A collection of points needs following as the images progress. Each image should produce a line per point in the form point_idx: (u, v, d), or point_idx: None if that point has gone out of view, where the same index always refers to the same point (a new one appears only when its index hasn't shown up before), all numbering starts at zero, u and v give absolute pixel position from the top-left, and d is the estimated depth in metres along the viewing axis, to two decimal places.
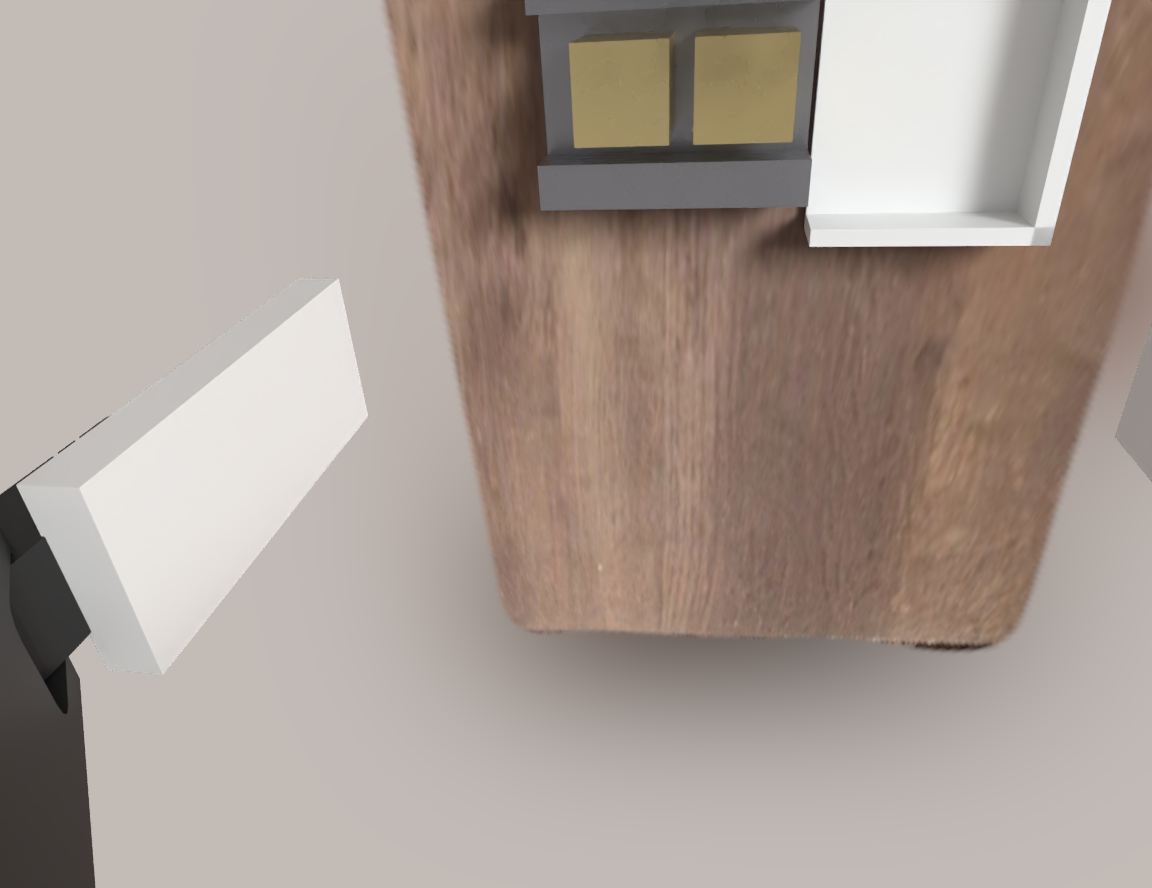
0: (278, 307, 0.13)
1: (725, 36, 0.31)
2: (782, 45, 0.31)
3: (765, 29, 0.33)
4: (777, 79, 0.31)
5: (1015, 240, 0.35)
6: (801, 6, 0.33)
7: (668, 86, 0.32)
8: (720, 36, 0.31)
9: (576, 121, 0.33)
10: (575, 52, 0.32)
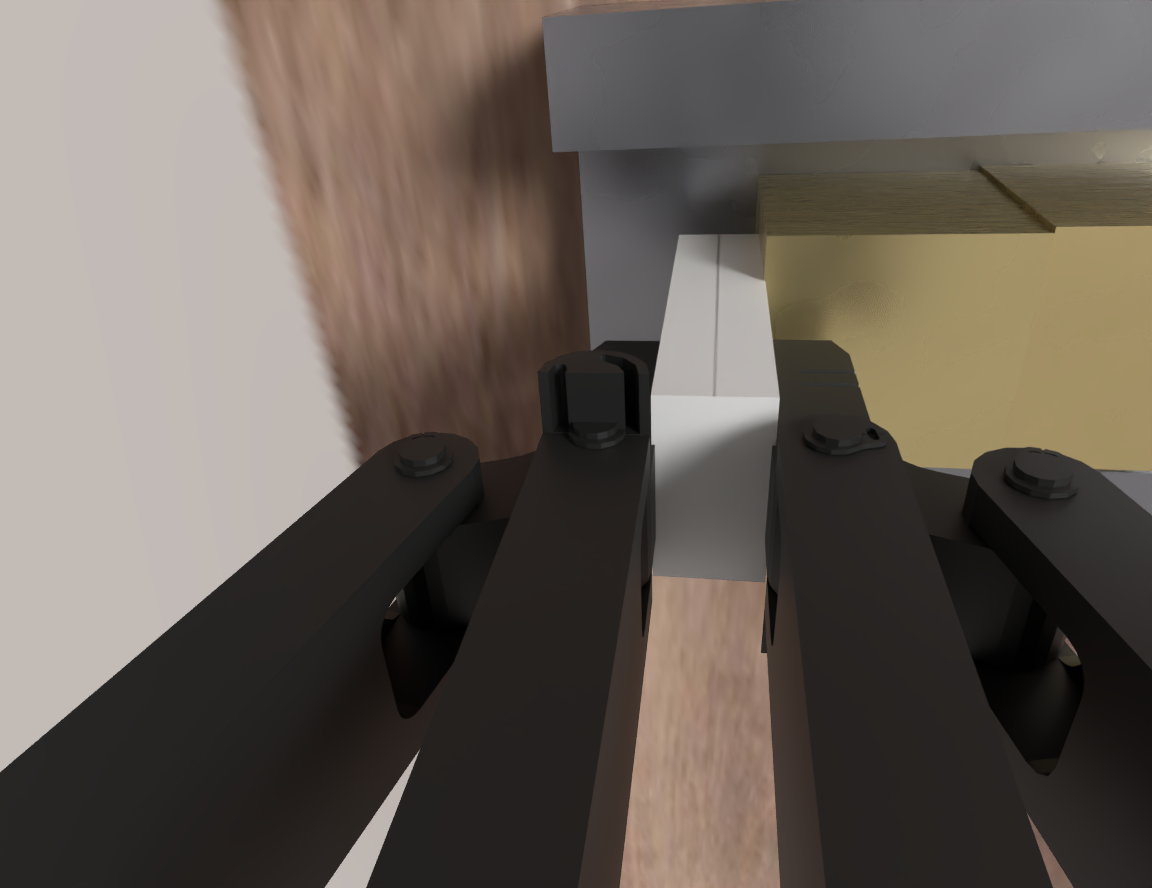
0: (694, 258, 0.14)
1: (1145, 227, 0.11)
2: None
3: None
4: None
5: None
6: None
7: (1022, 343, 0.12)
8: (1129, 226, 0.11)
9: None
10: (782, 258, 0.12)
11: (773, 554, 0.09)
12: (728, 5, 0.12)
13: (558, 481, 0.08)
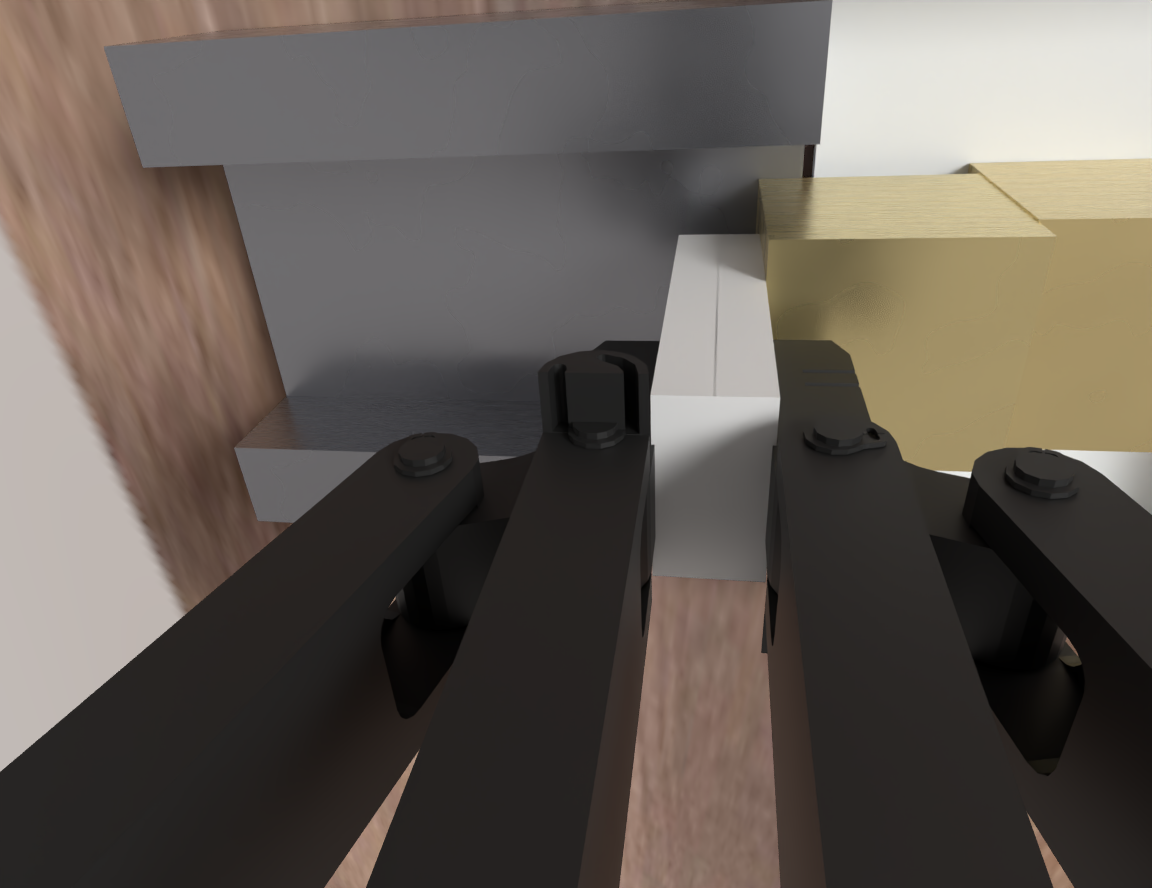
0: (694, 258, 0.14)
1: (1123, 219, 0.12)
2: None
3: None
4: None
5: None
6: None
7: (1024, 346, 0.12)
8: (1107, 218, 0.12)
9: None
10: (784, 261, 0.12)
11: (774, 554, 0.09)
12: (256, 37, 0.13)
13: (558, 481, 0.08)
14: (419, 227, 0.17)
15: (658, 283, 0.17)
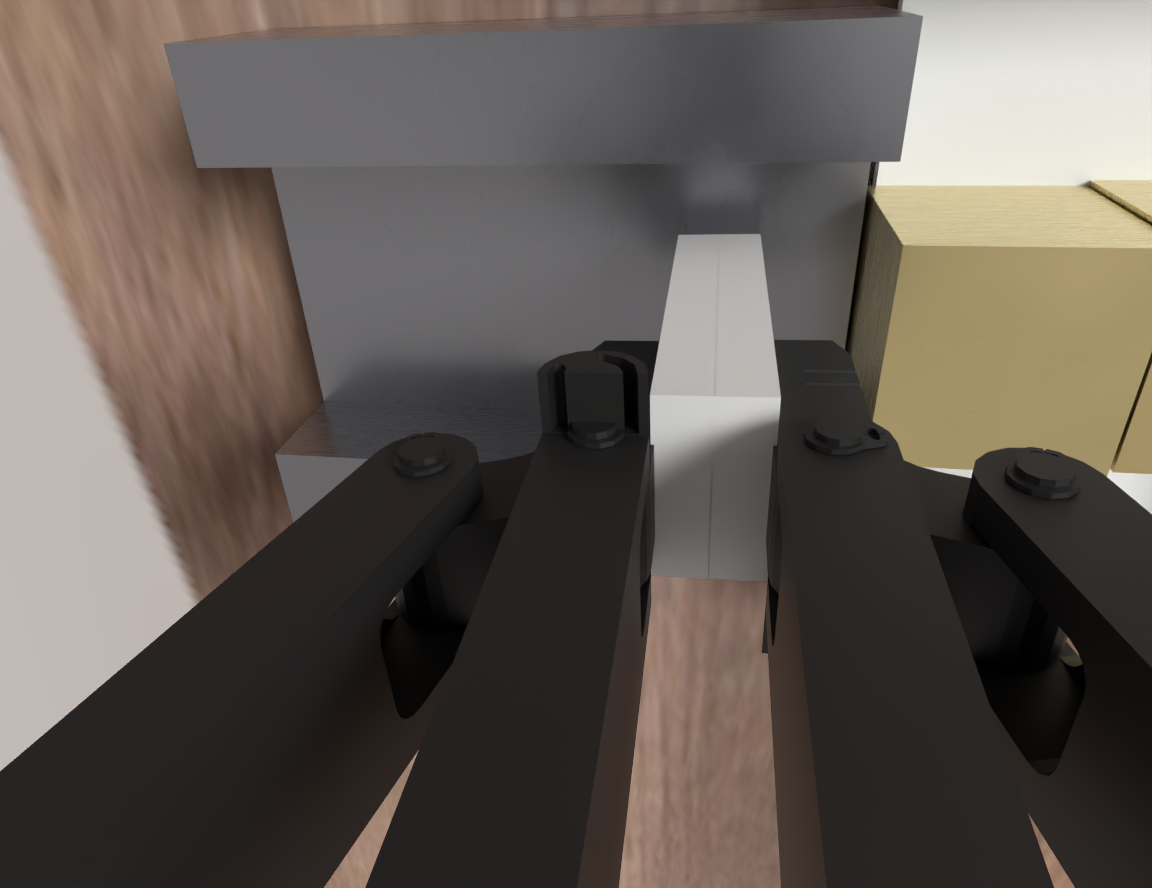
0: (693, 258, 0.14)
1: None
2: None
3: None
4: None
5: None
6: None
7: (1144, 354, 0.13)
8: None
9: (883, 413, 0.14)
10: (916, 267, 0.13)
11: (774, 554, 0.09)
12: (323, 38, 0.13)
13: (557, 481, 0.08)
14: (470, 233, 0.17)
15: None
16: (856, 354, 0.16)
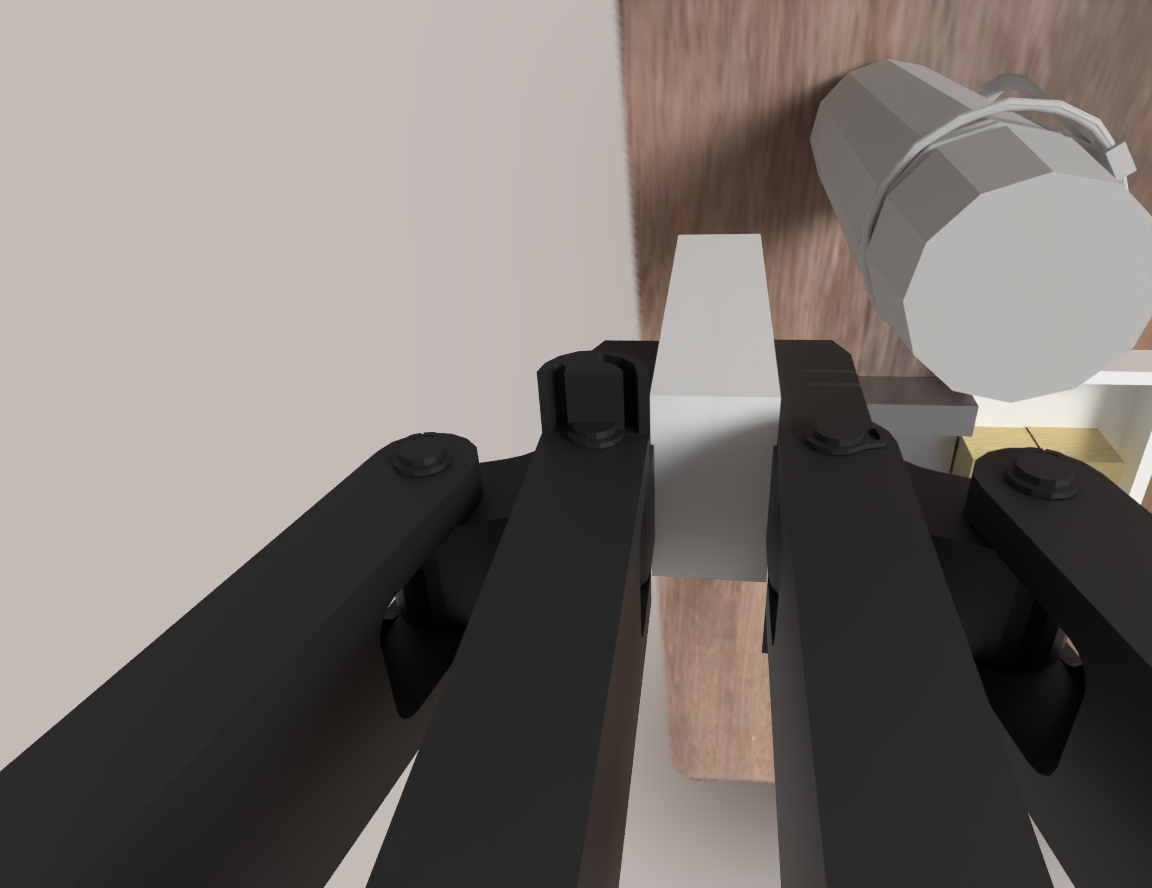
0: (693, 258, 0.14)
1: None
2: (1110, 469, 0.46)
3: (1086, 443, 0.47)
4: None
5: None
6: None
7: None
8: None
9: None
10: None
11: (774, 554, 0.09)
12: None
13: (557, 481, 0.08)
14: None
15: (905, 458, 0.51)
16: None
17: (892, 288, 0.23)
